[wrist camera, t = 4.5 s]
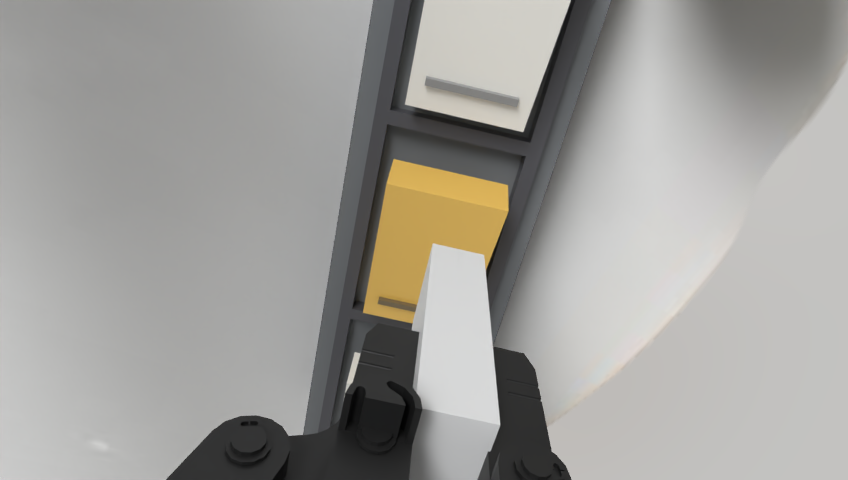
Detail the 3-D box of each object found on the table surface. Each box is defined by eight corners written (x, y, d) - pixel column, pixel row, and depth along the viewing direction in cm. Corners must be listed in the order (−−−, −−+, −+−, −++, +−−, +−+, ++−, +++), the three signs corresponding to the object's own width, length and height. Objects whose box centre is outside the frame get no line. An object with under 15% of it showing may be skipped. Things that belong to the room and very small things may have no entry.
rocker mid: (393, 158, 21) (385, 186, 20) (508, 184, 22) (508, 214, 20) (369, 286, 26) (362, 315, 25) (463, 306, 27) (461, 337, 25)
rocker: (452, -132, 17) (447, -124, 16) (594, -95, 17) (603, -85, 16) (410, 85, 22) (404, 106, 21) (521, 111, 22) (523, 134, 21)
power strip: (429, -261, 20) (422, -328, 16) (652, -202, 21) (704, -252, 16) (317, 398, 35) (297, 455, 31) (449, 425, 35) (448, 486, 31)
